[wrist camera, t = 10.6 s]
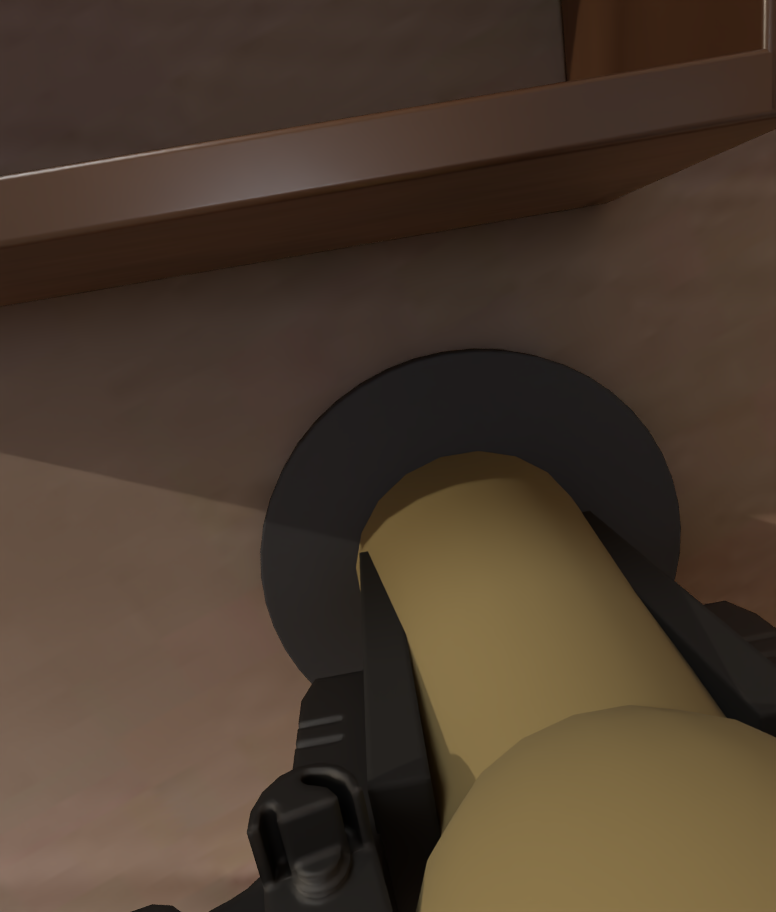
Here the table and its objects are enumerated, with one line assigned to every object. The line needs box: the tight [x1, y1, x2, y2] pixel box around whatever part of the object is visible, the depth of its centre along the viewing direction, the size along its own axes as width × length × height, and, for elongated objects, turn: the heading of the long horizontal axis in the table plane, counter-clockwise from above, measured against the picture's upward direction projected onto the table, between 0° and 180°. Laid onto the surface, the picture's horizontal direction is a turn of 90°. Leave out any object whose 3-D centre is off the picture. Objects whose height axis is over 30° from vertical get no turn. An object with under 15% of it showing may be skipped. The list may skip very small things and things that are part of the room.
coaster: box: [260, 349, 681, 684], centre depth 14 cm, size 11×11×1 cm
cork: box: [356, 451, 776, 912], centre depth 9 cm, size 6×6×11 cm
